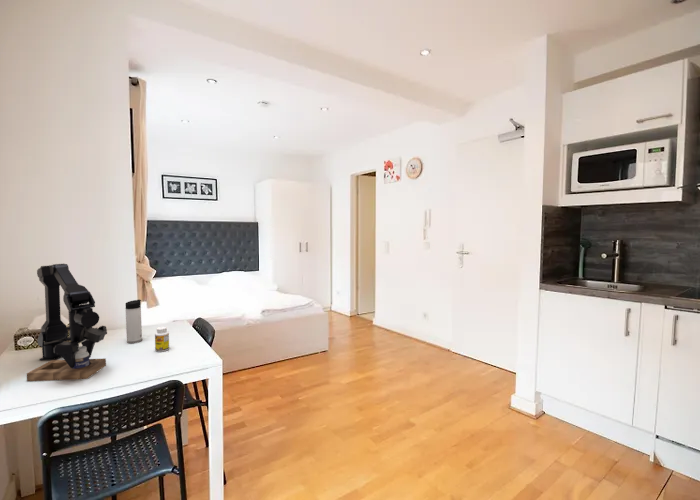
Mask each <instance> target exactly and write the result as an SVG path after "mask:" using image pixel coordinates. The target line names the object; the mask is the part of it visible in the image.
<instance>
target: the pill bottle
mask: <svg viewBox="0 0 700 500" xmlns="http://www.w3.org/2000/svg"><path fill="white" fill-rule="evenodd" d="M78 350H79V351H78V352H77V353H76V354H75V366H74V368H72V369H78V368H83V367H86V366H89V365H90V364H89V359H90V358H89V353H88V352H86V351H87V348H86V346H82V345H81V346H80V345H79V348H78Z"/></svg>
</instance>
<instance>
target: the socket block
mask: <svg viewBox="0 0 700 500" xmlns="http://www.w3.org/2000/svg"><path fill="white" fill-rule="evenodd" d="M89 364H90V365H89V366H86V367H83V368H78V369H72V368H71V367H70V366H69V365H68V364H67V362H66V361H65V360H64V359H56V360H48V362H45V363H43V364H42V365H40V366H38V367H35V368H34V369H32V370H30V371H28V372H27V373H26V381H27V382H41V381H42V382H44V381H47V382H48V381H50V382H51V381H72V380H74V381H75V380H77V381H78V380H88V379H89V378H91V377H92V376H93V375H95V374H96V373H98V372H99V371H101V370H102V369H103V368H104V367H107V358H89ZM100 369H101V370H100ZM97 371H98V372H97Z"/></svg>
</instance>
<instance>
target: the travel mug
mask: <svg viewBox="0 0 700 500" xmlns="http://www.w3.org/2000/svg"><path fill="white" fill-rule="evenodd" d="M141 302H142V300H141V299H135V300H129V301H127V302H126V303H125V308H124V309H125V329H126V343H127V344H137V343H141V342H142V341H143V331H142V330H143V329H142V327H143V326H142V307H141V306H142V305H141Z"/></svg>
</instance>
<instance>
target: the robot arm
mask: <svg viewBox="0 0 700 500" xmlns="http://www.w3.org/2000/svg"><path fill="white" fill-rule="evenodd" d="M36 276H37V277H38V280H39V282H40V283H41V284H42V285H43V286H44V296H45V297H44V298H45V299H44V302H45V303H44V304H45V321H44V323H43V324H42V325H41V327H40V333H39V334H38V338H37V340H36V341H37V345H38V346H39V347H41V351H42V357H41V358H39V361H51V360H59V359H60V358H62V360H65V361H66V362H67V364H68V365H69V366H70V367H71V368H74V366H75V354H76V353H77V352H78V351H79V350H78V348H79V347H80V344H81V346H86V348H87V351H86V352H88V353H89V359H91V356H92V354H93V353H92V352H93V350H94V346H95V344H96V343H100V342H101V341H103V340H104V338H105V336H106V335H108V329H107V326H106V325H100V326H99V327H95V326H96V325H97V324H98V323H99V321H100V316H99V314H98V313H97V312H96V311H93V309H94V308H95V307H96V305H95V304H96V301H95V299H94V298H93V295H92V294H91V292H90V291H89V289H87V288H86V287H85V286H84V285H81V284H79V283H78V281H77V280H76V279H75V277H74V276H73V274H72V272H71V270H69V265H68V264H67V263H55V264H53V263H52V264H51V265H50V264H49V265H41V266H40V268H38V269H37V270H36ZM60 287H61V289H62V290H63V293H64V294H63V297H62V298H63V299H62V300H63V304H64V305H65V307H66V309H67V310H68V326H67V325H66V324H65V323H64V322H63V321H62V318H61V315H62V314H61V291H60Z"/></svg>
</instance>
